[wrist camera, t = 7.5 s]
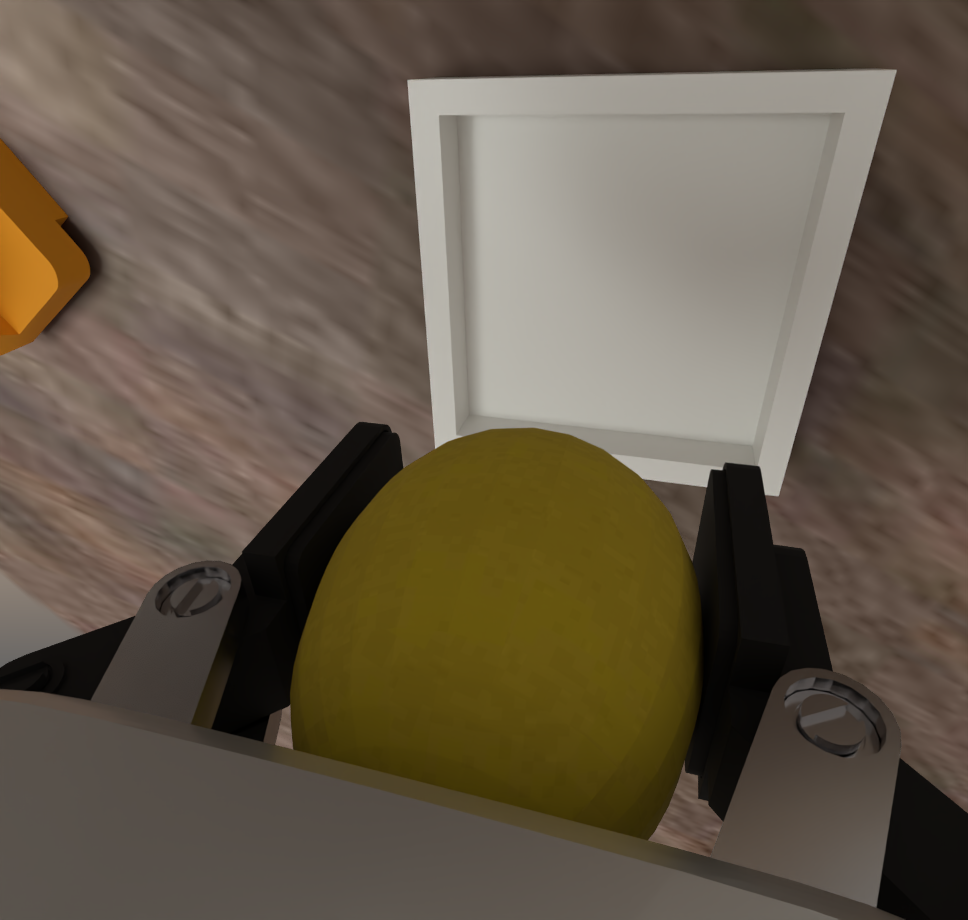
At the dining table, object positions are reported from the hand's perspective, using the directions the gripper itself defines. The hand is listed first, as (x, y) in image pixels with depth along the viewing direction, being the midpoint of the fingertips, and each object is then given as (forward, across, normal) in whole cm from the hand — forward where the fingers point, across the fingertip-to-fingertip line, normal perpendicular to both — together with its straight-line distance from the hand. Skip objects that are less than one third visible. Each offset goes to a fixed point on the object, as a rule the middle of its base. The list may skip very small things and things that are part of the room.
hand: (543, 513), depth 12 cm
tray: (+15, 0, 0) cm, 15 cm away
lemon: (+1, 0, 0) cm, 1 cm away
